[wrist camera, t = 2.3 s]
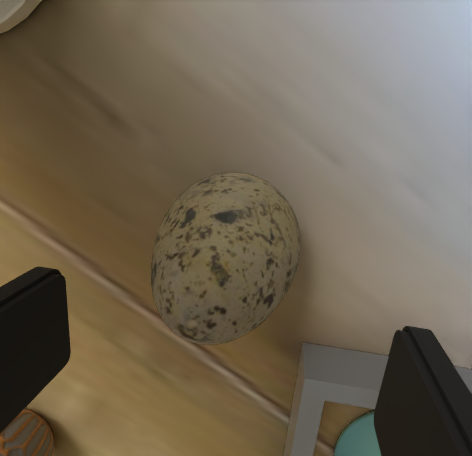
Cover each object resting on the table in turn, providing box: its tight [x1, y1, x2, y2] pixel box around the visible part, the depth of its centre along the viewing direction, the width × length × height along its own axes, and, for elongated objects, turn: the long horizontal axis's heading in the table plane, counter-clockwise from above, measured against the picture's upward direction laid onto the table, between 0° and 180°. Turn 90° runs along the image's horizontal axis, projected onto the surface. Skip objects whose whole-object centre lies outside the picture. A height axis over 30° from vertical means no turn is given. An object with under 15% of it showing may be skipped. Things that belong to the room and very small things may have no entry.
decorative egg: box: [151, 173, 300, 345], centre depth 14 cm, size 6×6×10 cm
